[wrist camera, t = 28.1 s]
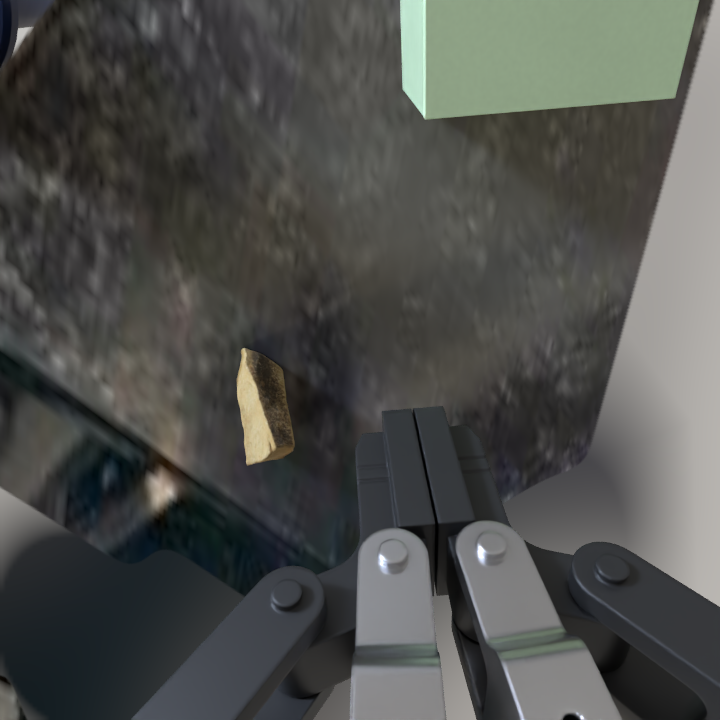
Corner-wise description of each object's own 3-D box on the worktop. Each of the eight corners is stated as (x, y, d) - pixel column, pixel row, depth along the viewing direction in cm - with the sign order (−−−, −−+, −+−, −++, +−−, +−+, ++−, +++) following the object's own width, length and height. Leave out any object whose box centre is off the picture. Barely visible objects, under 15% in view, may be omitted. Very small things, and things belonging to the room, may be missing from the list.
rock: (283, 474, 58) (339, 422, 53) (225, 509, 51) (283, 453, 46) (225, 392, 60) (273, 335, 55) (161, 416, 53) (210, 352, 48)
